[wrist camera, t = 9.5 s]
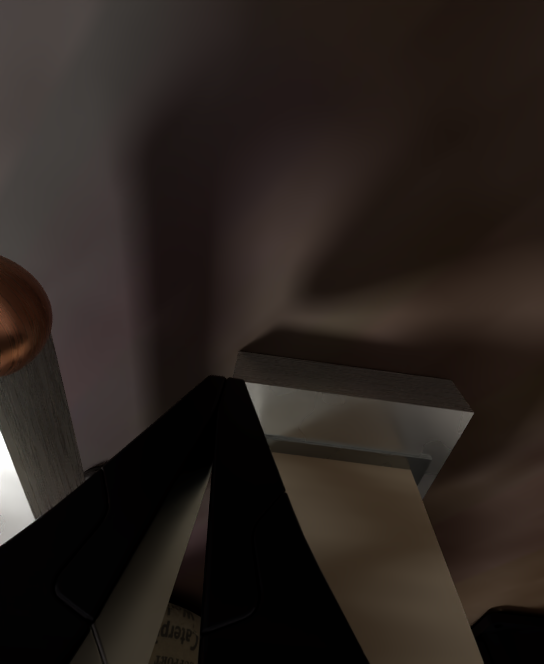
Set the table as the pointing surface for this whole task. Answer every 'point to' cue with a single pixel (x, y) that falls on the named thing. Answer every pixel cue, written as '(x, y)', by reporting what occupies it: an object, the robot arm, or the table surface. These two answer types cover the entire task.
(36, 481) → the lever
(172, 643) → the canister
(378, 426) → the plate
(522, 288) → the table surface
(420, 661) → the block
